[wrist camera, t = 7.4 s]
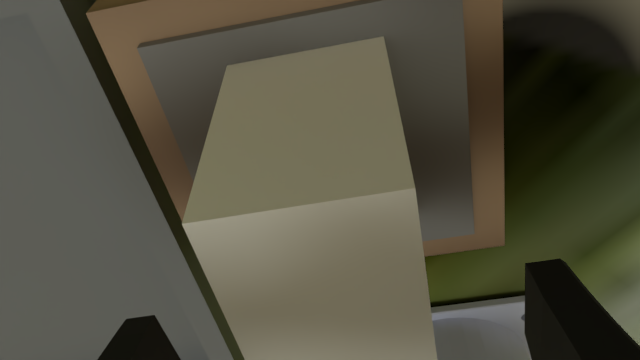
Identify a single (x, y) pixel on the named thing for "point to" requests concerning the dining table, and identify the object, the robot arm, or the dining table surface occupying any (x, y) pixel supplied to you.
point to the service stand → (317, 32)
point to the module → (313, 210)
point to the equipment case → (85, 204)
